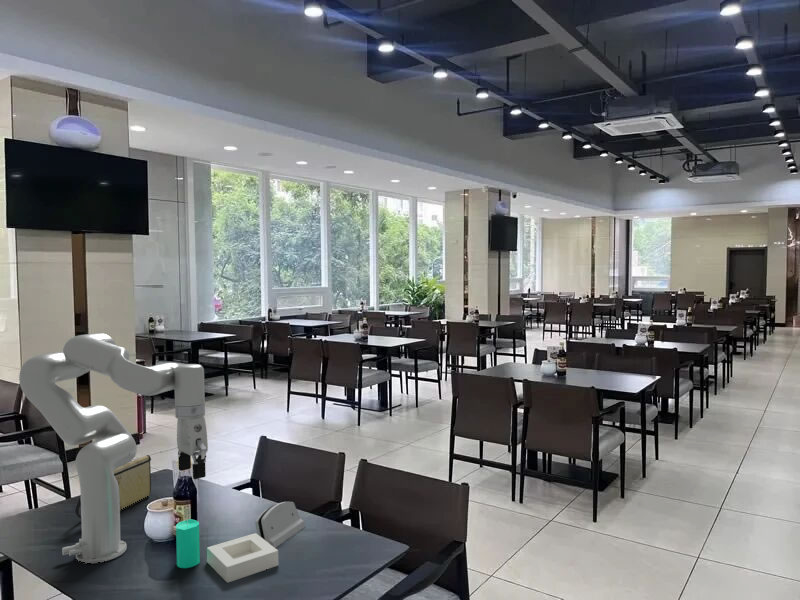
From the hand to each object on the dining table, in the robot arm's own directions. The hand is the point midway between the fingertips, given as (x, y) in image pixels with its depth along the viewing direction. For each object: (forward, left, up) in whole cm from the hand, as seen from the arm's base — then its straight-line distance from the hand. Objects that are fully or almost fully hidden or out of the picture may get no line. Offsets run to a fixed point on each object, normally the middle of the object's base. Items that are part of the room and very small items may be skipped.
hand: (191, 473), depth 155 cm
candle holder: (+10, -10, -24) cm, 28 cm away
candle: (-1, 0, -24) cm, 24 cm away
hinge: (+25, 0, -24) cm, 35 cm away
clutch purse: (-8, +53, -24) cm, 59 cm away
